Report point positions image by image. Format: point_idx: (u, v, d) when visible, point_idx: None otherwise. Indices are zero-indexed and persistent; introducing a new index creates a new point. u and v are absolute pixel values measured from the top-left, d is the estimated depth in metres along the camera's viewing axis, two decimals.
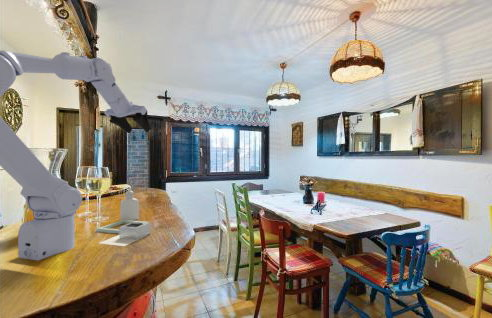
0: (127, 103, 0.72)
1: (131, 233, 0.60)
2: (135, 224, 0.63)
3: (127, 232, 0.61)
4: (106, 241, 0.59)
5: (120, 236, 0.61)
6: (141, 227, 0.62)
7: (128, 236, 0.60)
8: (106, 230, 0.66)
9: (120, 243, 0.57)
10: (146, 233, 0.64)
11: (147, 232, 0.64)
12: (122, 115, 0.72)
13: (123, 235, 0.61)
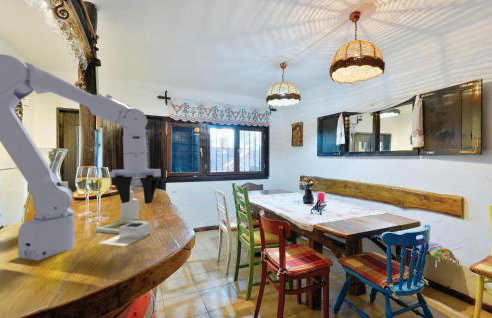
0: (144, 162, 0.63)
1: (131, 233, 0.60)
2: (135, 224, 0.63)
3: (127, 232, 0.61)
4: (106, 241, 0.59)
5: (120, 236, 0.61)
6: (141, 227, 0.62)
7: (128, 236, 0.60)
8: (106, 230, 0.66)
9: (120, 243, 0.57)
10: (146, 233, 0.64)
11: (147, 232, 0.64)
12: (131, 171, 0.61)
13: (123, 235, 0.61)
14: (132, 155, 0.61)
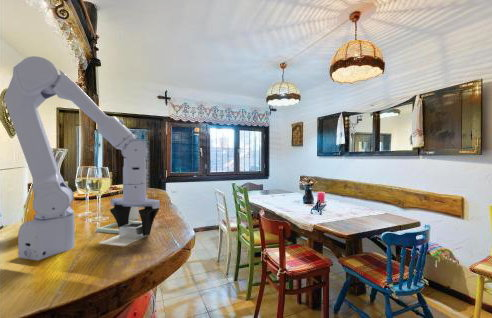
0: (143, 192, 0.62)
1: (131, 233, 0.60)
2: (135, 224, 0.63)
3: (127, 232, 0.61)
4: (106, 241, 0.59)
5: (120, 236, 0.61)
6: (141, 227, 0.62)
7: (128, 236, 0.60)
8: (106, 230, 0.66)
9: (120, 243, 0.57)
10: None
11: None
12: (130, 203, 0.60)
13: (123, 235, 0.61)
14: (131, 186, 0.60)
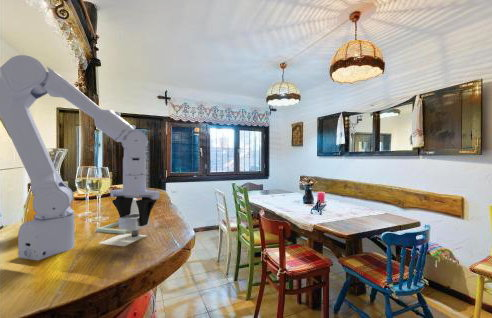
0: (143, 183, 0.62)
1: (130, 223, 0.60)
2: None
3: (126, 223, 0.60)
4: (106, 241, 0.59)
5: (120, 227, 0.61)
6: None
7: (128, 227, 0.60)
8: (106, 230, 0.66)
9: (120, 243, 0.57)
10: None
11: None
12: (130, 193, 0.60)
13: (122, 226, 0.61)
14: (131, 177, 0.60)
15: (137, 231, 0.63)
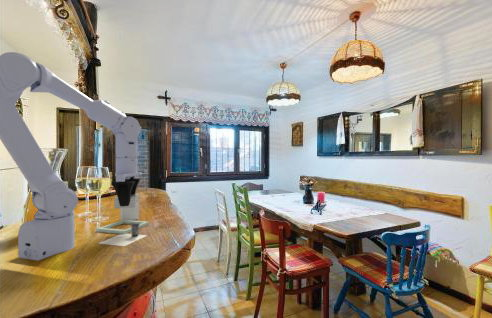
0: (124, 166, 0.65)
1: None
2: (135, 224, 0.63)
3: None
4: (106, 241, 0.59)
5: None
6: None
7: None
8: (106, 230, 0.66)
9: (120, 243, 0.57)
10: (129, 206, 0.66)
11: (130, 205, 0.66)
12: (115, 174, 0.66)
13: None
14: None
15: (137, 231, 0.63)
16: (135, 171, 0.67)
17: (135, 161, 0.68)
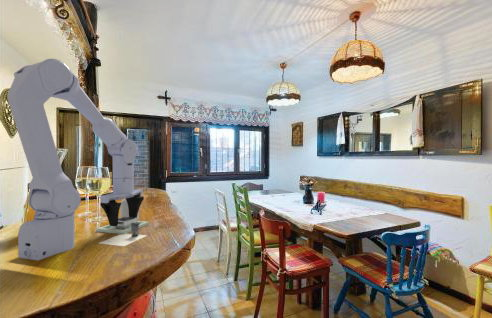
0: (116, 187, 0.68)
1: None
2: (135, 224, 0.63)
3: None
4: (106, 241, 0.59)
5: None
6: None
7: None
8: (106, 230, 0.66)
9: (120, 243, 0.57)
10: None
11: (121, 229, 0.68)
12: None
13: None
14: None
15: (137, 231, 0.63)
16: (127, 191, 0.69)
17: (127, 182, 0.69)
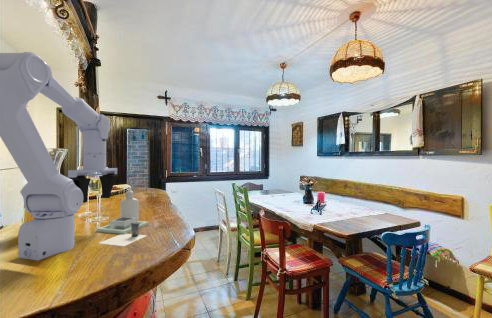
0: (86, 162, 0.66)
1: None
2: (135, 224, 0.63)
3: None
4: (106, 241, 0.59)
5: None
6: (114, 222, 0.68)
7: None
8: (106, 230, 0.66)
9: (120, 243, 0.57)
10: None
11: (121, 229, 0.68)
12: None
13: None
14: None
15: (137, 231, 0.63)
16: (98, 167, 0.67)
17: (98, 157, 0.67)
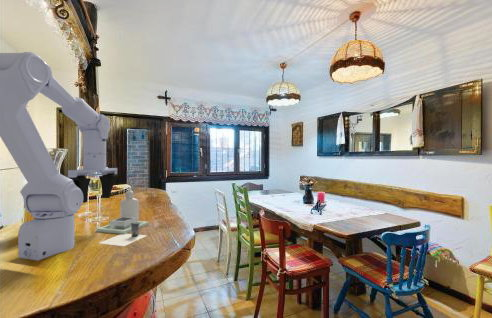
0: (86, 162, 0.66)
1: None
2: (135, 224, 0.63)
3: None
4: (106, 241, 0.59)
5: None
6: (114, 222, 0.68)
7: None
8: (106, 230, 0.66)
9: (120, 243, 0.57)
10: None
11: (121, 229, 0.68)
12: None
13: None
14: None
15: (137, 231, 0.63)
16: (98, 167, 0.67)
17: (98, 157, 0.67)
